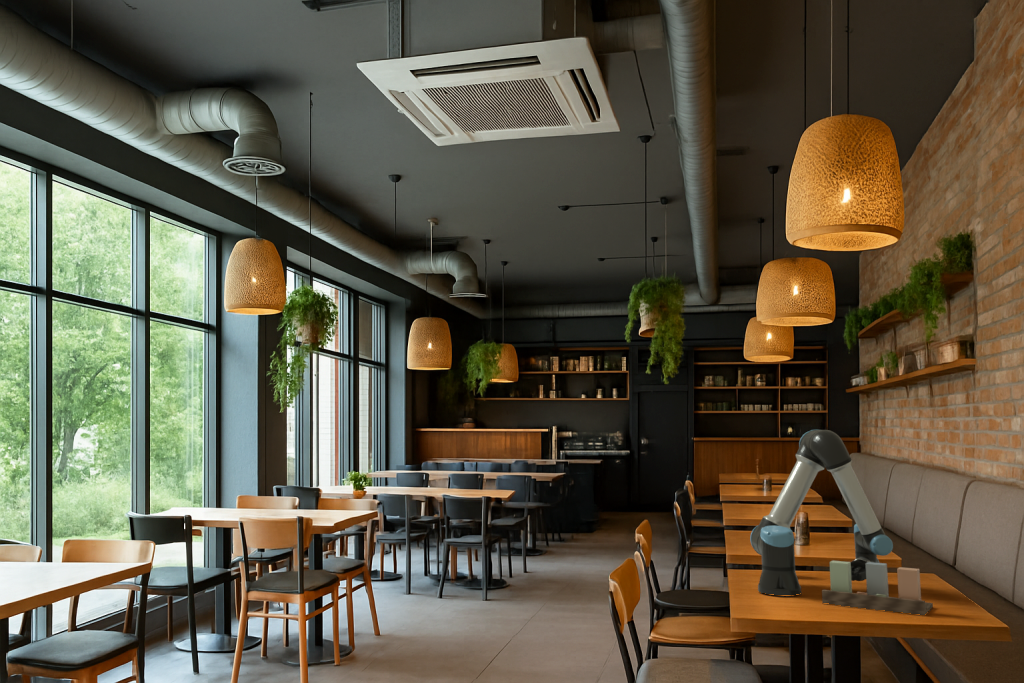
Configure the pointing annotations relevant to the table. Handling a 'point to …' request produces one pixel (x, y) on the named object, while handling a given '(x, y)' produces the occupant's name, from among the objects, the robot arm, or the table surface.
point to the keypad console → (876, 602)
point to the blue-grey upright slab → (877, 578)
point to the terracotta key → (909, 583)
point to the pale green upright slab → (840, 576)
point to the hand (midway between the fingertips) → (843, 579)
